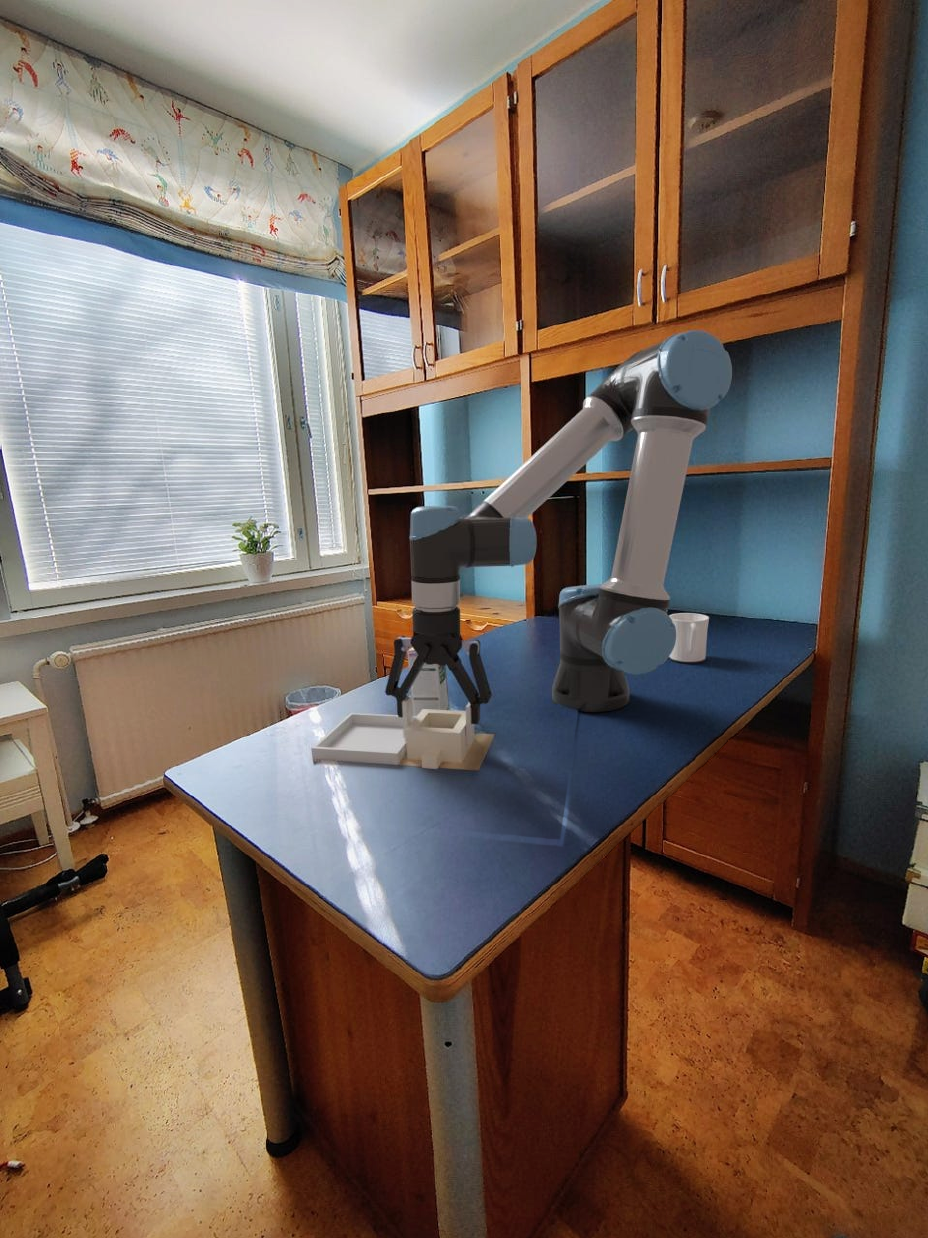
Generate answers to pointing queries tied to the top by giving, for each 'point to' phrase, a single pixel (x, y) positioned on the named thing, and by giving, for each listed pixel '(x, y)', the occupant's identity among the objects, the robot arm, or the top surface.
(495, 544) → the robot arm
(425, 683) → the syrup box
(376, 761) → the tray
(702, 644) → the mug
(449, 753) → the cream hollow block
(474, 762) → the tan square lid
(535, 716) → the top surface
